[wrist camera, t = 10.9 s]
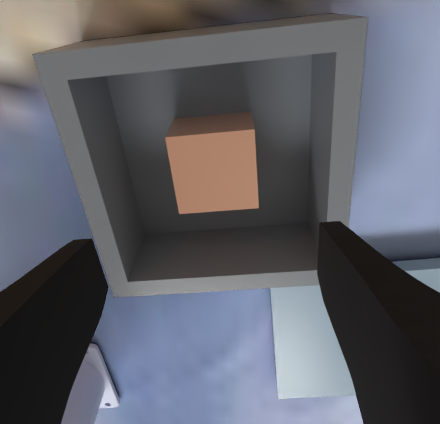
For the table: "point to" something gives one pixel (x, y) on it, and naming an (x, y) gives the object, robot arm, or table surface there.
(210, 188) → the uncovered block
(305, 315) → the lid
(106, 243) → the storage box
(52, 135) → the table surface
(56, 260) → the robot arm
